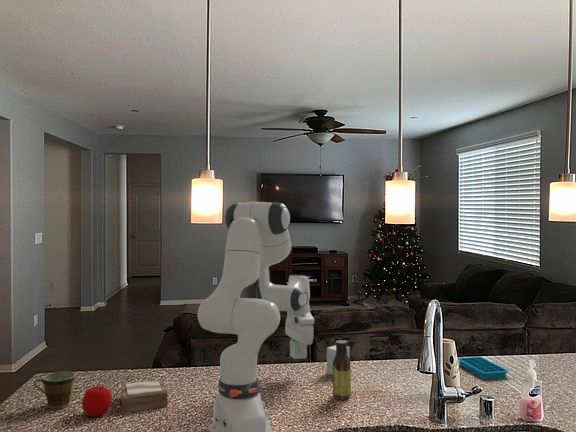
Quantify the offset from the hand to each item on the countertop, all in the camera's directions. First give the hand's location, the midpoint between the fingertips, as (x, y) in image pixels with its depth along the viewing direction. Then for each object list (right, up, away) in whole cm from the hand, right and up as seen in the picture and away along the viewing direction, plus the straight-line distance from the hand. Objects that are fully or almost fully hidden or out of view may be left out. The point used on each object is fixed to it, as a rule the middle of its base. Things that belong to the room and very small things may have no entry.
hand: (298, 351), depth 198 cm
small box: (+16, -11, +6) cm, 20 cm away
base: (-53, -11, -25) cm, 60 cm away
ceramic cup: (-82, -11, -28) cm, 87 cm away
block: (0, -2, 0) cm, 2 cm away
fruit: (-65, -11, -35) cm, 75 cm away
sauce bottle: (+15, -11, -20) cm, 27 cm away
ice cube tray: (+75, -11, +9) cm, 77 cm away
